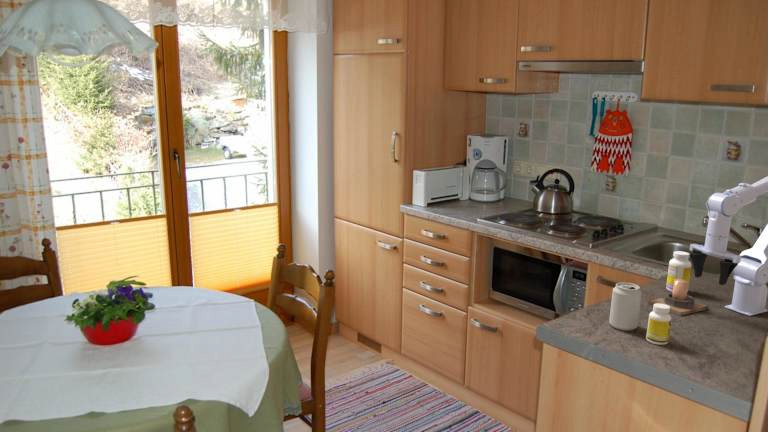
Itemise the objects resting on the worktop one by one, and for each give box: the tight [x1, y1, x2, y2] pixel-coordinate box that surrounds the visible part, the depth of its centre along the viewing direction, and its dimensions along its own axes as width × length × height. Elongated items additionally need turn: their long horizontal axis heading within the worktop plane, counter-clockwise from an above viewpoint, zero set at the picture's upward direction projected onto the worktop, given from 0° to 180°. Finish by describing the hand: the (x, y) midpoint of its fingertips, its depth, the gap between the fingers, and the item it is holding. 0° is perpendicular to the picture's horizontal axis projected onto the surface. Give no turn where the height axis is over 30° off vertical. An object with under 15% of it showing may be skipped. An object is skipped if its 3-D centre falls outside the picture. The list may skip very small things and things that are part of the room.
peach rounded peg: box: [671, 279, 690, 301], centre depth 194 cm, size 4×4×7 cm
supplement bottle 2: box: [665, 250, 693, 293], centre depth 208 cm, size 7×7×13 cm
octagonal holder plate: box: [648, 291, 709, 317], centre depth 194 cm, size 13×11×3 cm
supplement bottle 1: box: [645, 303, 672, 346], centre depth 167 cm, size 5×5×10 cm
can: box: [608, 281, 643, 332], centre depth 176 cm, size 8×8×12 cm
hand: (710, 280), depth 187 cm, fingers open, 7 cm apart
